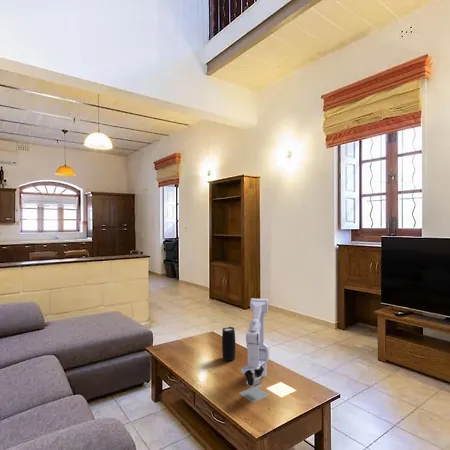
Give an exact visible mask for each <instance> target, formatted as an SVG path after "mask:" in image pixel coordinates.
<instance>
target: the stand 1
mask: <svg viewBox="0 0 450 450" xmlns="http://www.w3.org/2000/svg"><path fill="white" fill-rule="evenodd" d="M238 394H239V395H241V396H242V397H243V398H245V399H246V400H248V401H250V402H251V403H256V402H258V401H260V400H262V399H265V398H266V397H269V396H270V394H268V393H267V392H265V391H263V390H262V389H260V387H258V388H256V389H254V388H253V387H249V388H248V389H245V390H243V391H240V392H238Z"/></svg>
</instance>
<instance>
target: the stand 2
mask: <svg viewBox="0 0 450 450" xmlns="http://www.w3.org/2000/svg"><path fill="white" fill-rule="evenodd" d="M265 389H266V390H267V391H269V392H270V393H273V395H276V396H277V397H279V398H283V397H286V396H288V395H290V394H292V393H294V392H296V391H297V389H295V388H293V387H291V386H289V385H287V384H285V383H284V382H281V381H279V382H277V383H274V384H273V385H270V386H268V387H266V388H265Z"/></svg>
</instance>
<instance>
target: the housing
mask: <svg viewBox="0 0 450 450" xmlns="http://www.w3.org/2000/svg"><path fill="white" fill-rule="evenodd" d="M252 373H253V377H252V386H250V385H248V381H247V380H246V385H248V386H249V387H250V388H252V387H253V388H254V389H256V388H261V387H262V383H261V382H262V380H261V379H262V377H261V376H260V375H259V374H257V373H255V372H253V371H252Z"/></svg>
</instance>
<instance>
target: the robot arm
mask: <svg viewBox="0 0 450 450" xmlns="http://www.w3.org/2000/svg"><path fill="white" fill-rule="evenodd" d="M249 307H250V309H251V311H252V319H251V320H250V322H249V327H248V331H247V332H246V335H245V341H246V342H245V344H246V348H247V364H245V365H244V366H243V367H242V368H240V373H242V374H244V376H245V378H246V382H247V381H248V384H247V386H249V385H250V386H249V387H251V386H252V377H253V373H252V371H253V372H255V373H257V374H259V375H260V376H261V378H264V377H266V376H267V375H268V374H267V373H268V371H267V370H268V368H267V366H268V365H267V364H268V361H269V359H270V348H269V346H268V344H266V343H265V315H266V314H268V312H269V299H268V298H253V297H252V298H250V301H249Z"/></svg>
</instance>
